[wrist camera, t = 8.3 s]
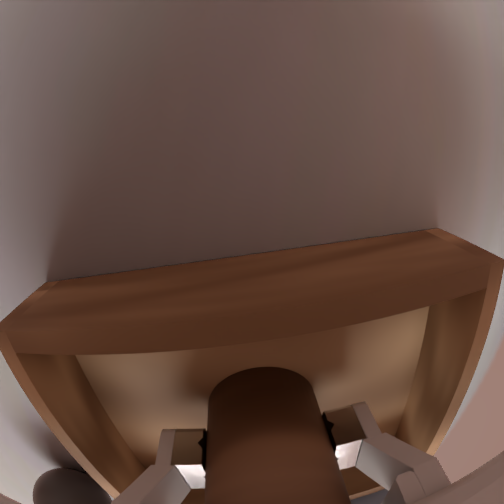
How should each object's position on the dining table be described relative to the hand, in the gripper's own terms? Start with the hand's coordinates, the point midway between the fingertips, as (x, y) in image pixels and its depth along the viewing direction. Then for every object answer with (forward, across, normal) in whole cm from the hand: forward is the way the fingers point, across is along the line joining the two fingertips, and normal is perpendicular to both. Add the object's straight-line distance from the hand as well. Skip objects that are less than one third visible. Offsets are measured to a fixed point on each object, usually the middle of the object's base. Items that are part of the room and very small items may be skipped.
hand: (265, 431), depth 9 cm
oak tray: (+2, 0, 0) cm, 2 cm away
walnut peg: (+1, 0, 0) cm, 1 cm away
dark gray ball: (+2, +13, +8) cm, 16 cm away
